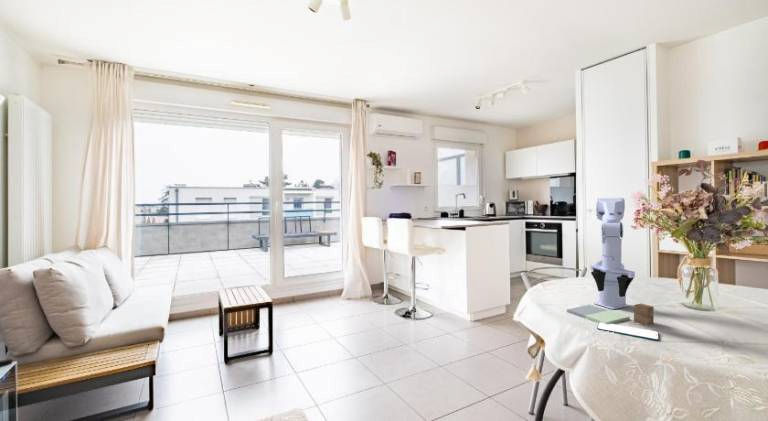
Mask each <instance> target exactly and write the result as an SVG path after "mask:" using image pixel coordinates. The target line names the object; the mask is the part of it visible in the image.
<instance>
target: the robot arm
mask: <svg viewBox="0 0 768 421" xmlns="http://www.w3.org/2000/svg"><path fill="white" fill-rule="evenodd" d="M595 200H596V201H595V202H596V203H595V208H596V209H595V212H596V213H595V216H596V217H597V218H596V219H597V220H600V221H601V224H600V237H601V243H602V244H601V247H602V248H601V249H602V250H601V259H600V260H598V261H596V264H594V263H593V264H590V270H591V272H590V274H591V276H592V277H593V279H594V281H595V285H596V287H597V291H598V301H595V302H593V304H594V305H598V306H600V307H604V308H608V309H609V310H611V309H612V310H616V309H620V308H621V309H622V308H624V307H625V308H626V307H628V306H629V305H628V304H627V302H626V301H627V300H626V299H627V298H626V296H627V295H626V294H627V291H628V289H629V286H631V283H632V282H633V280H634V278H635V276H636V275H635V274H636V273H635V271H632V270H628V269H625V265H624V263H622V240H623V238H624V223H623V222H622V220H623V218H624V216H625V215H624V214H625V206H626V205H625V204H626V203H625V202H626V201H625V198H623V197H615V198H614V197H608V198H607V197H605V198H604V197H601V198H600V197H597V198H596V199H595Z"/></svg>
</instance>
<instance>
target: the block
mask: <svg viewBox="0 0 768 421" xmlns="http://www.w3.org/2000/svg"><path fill="white" fill-rule="evenodd" d="M654 309H655V306H652V305H650V304H649V305H648V304H645V303H638V304H634V305H633V322H634V323H637V324H639V325H642V326H650V325H653V324H654V320H655V319H654V318H655V314H654V313H655V312H654Z"/></svg>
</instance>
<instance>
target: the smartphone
mask: <svg viewBox="0 0 768 421" xmlns="http://www.w3.org/2000/svg"><path fill="white" fill-rule="evenodd" d="M596 329H597V330H598V331H602V330H603V331H602V332H607V331H609V332H608V333H612V332H614V333H613V334H617V333H618V334H617V335H624V336H628V337H633V338H638V339H644V340H649V341H652V342H653V341H654V342H659V340H660V339H659V332H658V331H656V330H652V329H646V328H640V327H634V326H627V325H622V324H617V323H613V324H611V323H608V324H604V323H601V322H599V323H598V325H597V326H596Z"/></svg>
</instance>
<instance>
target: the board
mask: <svg viewBox="0 0 768 421" xmlns="http://www.w3.org/2000/svg"><path fill="white" fill-rule="evenodd" d="M566 313H569V314H571V315H574V316H577V317H579V318H580V317H581V318H583V319H586V320H589V321H592V322H595V323H598V324H599V322H601V323H604V324H608V323H611V324H617V323H620V322H625V321H627V320H630V316H628V315H626V314H622V313H619V312H616V311H612V310H610V309H605V308H601V307H599V306H595V305H591V304H587V305H583V306H577V307H573V308H568V309H566Z"/></svg>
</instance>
